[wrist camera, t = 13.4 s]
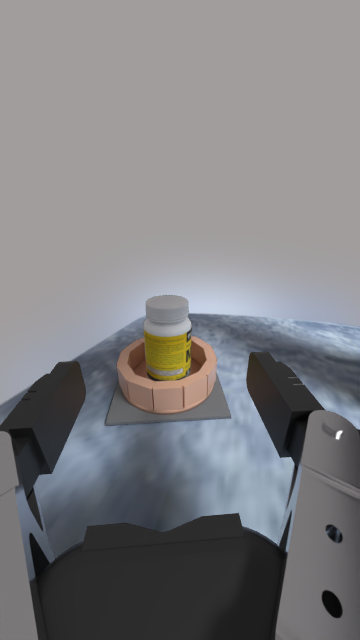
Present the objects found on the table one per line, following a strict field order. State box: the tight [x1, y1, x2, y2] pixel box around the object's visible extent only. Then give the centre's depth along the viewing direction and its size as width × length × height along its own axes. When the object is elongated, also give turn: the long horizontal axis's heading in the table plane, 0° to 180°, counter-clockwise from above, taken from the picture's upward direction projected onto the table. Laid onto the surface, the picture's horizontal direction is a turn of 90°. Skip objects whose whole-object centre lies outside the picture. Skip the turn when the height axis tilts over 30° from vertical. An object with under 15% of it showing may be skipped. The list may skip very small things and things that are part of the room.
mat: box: [105, 372, 231, 426], centre depth 24 cm, size 11×11×1 cm
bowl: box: [117, 336, 217, 415], centre depth 24 cm, size 10×10×3 cm
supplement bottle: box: [143, 295, 192, 381], centre depth 22 cm, size 5×5×8 cm
